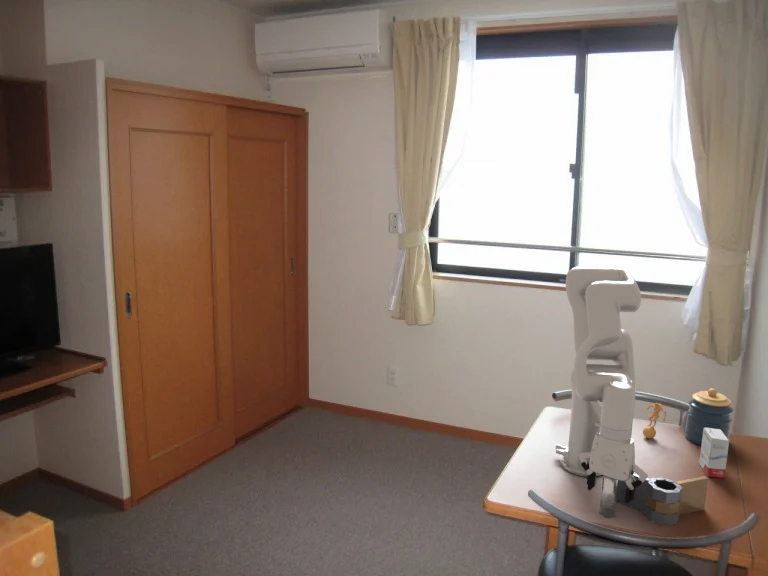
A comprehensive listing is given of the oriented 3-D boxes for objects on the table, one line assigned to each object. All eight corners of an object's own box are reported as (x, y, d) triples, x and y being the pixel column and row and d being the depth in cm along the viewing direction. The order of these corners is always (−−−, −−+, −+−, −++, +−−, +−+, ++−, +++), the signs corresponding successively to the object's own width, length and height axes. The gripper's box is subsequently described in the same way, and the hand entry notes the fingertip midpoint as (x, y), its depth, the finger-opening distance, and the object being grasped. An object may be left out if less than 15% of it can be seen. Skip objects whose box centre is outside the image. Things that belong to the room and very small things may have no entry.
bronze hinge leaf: (660, 527, 157) (664, 494, 155) (639, 511, 164) (642, 480, 162) (713, 515, 163) (718, 484, 161) (691, 501, 170) (695, 470, 168)
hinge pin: (597, 514, 163) (601, 471, 160) (602, 508, 165) (607, 466, 163) (611, 519, 160) (615, 475, 158) (616, 513, 163) (620, 470, 161)
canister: (710, 430, 215) (717, 381, 211) (737, 447, 203) (745, 395, 199) (676, 432, 213) (682, 382, 209) (700, 449, 200) (707, 397, 197)
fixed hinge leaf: (681, 516, 162) (685, 484, 160) (671, 528, 157) (676, 495, 155) (614, 492, 173) (617, 462, 171) (603, 503, 168) (607, 472, 166)
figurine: (634, 434, 211) (638, 400, 208) (647, 430, 213) (651, 397, 211) (654, 444, 203) (659, 409, 201) (667, 440, 206) (672, 406, 204)
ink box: (725, 478, 182) (730, 440, 180) (706, 476, 183) (711, 438, 181) (716, 464, 191) (721, 428, 188) (698, 463, 191) (703, 426, 189)
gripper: (576, 426, 161) (570, 488, 164) (645, 446, 150) (638, 513, 153) (588, 418, 166) (582, 478, 170) (656, 437, 155) (649, 501, 159)
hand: (609, 494), depth 161 cm, fingers open, 9 cm apart
